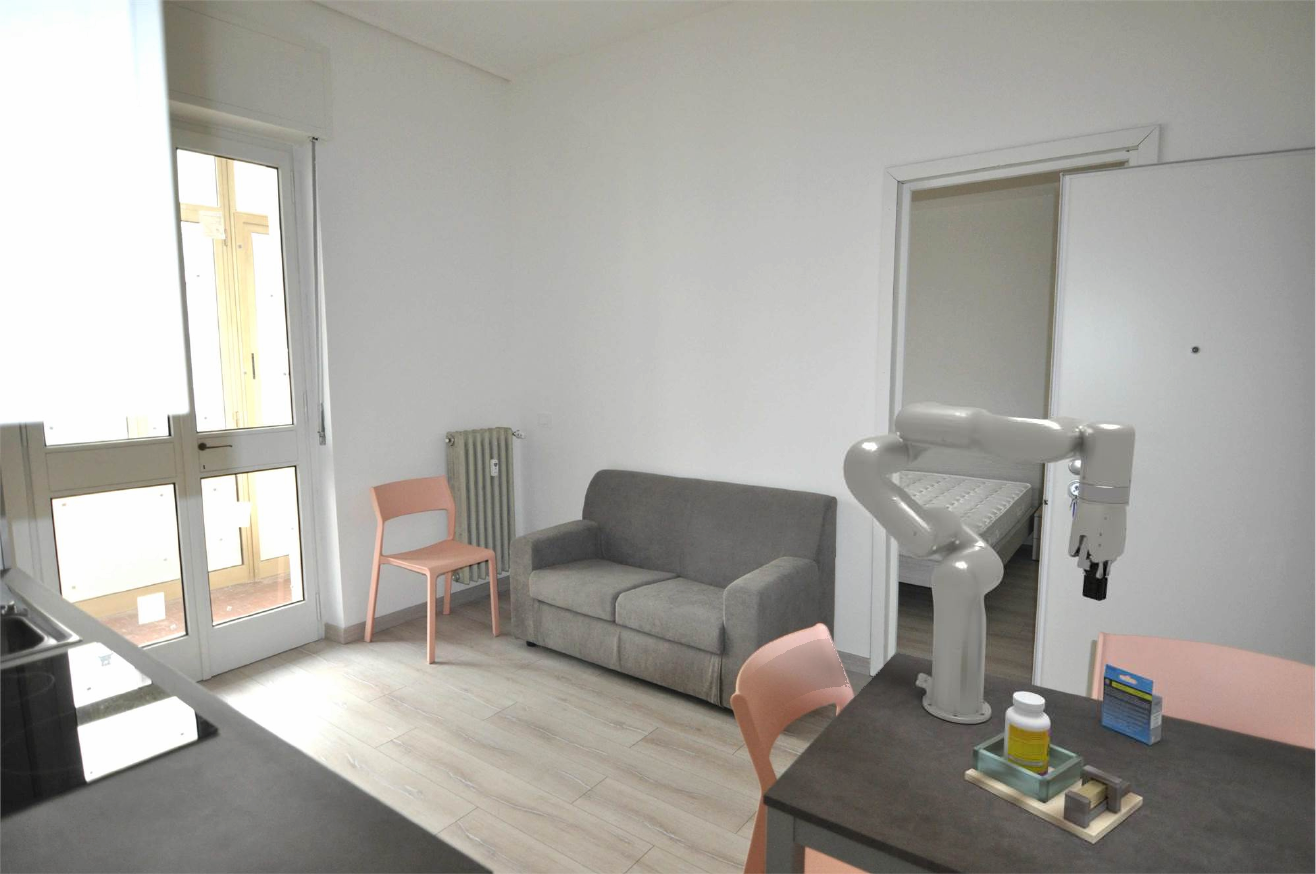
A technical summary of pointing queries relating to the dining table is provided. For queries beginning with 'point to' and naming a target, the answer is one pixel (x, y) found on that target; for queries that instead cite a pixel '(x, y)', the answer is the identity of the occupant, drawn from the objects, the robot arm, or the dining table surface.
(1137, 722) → the label tape box
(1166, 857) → the dining table surface
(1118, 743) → the dining table surface
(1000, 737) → the dock
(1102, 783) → the lock bolt
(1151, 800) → the dining table surface
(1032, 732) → the supplement bottle
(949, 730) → the dining table surface
